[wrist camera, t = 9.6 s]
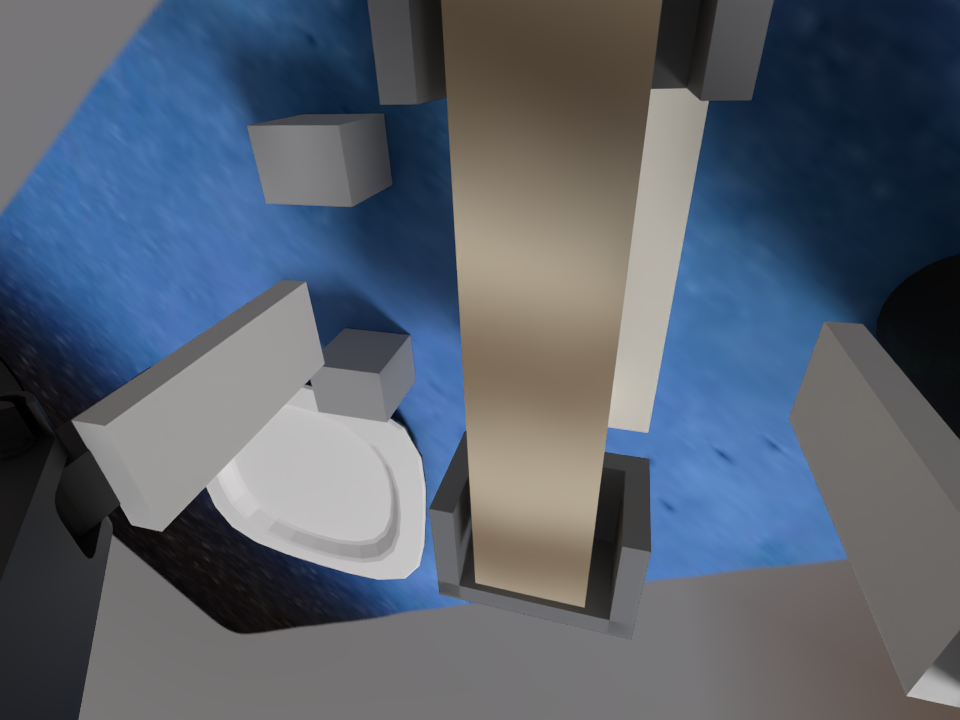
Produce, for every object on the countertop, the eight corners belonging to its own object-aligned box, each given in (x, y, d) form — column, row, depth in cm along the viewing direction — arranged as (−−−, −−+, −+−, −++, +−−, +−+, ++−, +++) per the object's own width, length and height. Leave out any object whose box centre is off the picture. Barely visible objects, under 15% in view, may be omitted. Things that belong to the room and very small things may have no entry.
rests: (353, 372, 30) (318, 411, 27) (303, 114, 23) (246, 125, 20) (415, 380, 29) (387, 422, 26) (384, 113, 22) (338, 125, 19)
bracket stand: (499, 402, 28) (424, 590, 19) (492, -70, 18) (306, -216, 8) (647, 422, 26) (650, 644, 17) (739, -95, 16) (901, -328, 6)
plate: (179, 339, 33) (158, 352, 32) (436, 399, 30) (426, 416, 29) (231, 519, 43) (218, 535, 42) (430, 579, 40) (422, 598, 39)
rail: (593, 520, 19) (584, 607, 16) (500, 503, 20) (475, 582, 17) (666, -64, 10) (676, -109, 7) (491, -49, 11) (435, -84, 8)
